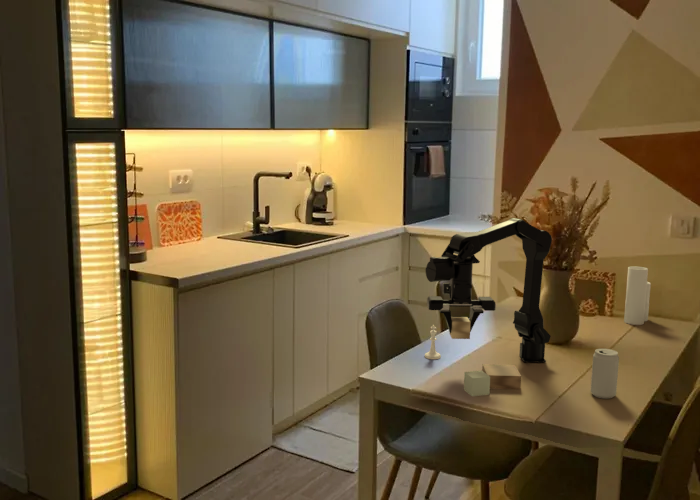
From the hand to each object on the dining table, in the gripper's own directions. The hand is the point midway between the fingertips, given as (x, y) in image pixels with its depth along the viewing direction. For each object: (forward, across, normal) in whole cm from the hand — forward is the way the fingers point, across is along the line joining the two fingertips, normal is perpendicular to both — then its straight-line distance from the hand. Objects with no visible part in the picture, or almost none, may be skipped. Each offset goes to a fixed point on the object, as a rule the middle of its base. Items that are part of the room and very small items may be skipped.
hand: (459, 332), depth 205 cm
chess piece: (+11, +6, -12) cm, 18 cm away
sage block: (+11, -2, +17) cm, 21 cm away
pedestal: (+12, -10, +10) cm, 18 cm away
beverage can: (+11, -35, +19) cm, 42 cm away
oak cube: (+1, 0, 0) cm, 1 cm away
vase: (+11, -73, -54) cm, 92 cm away
